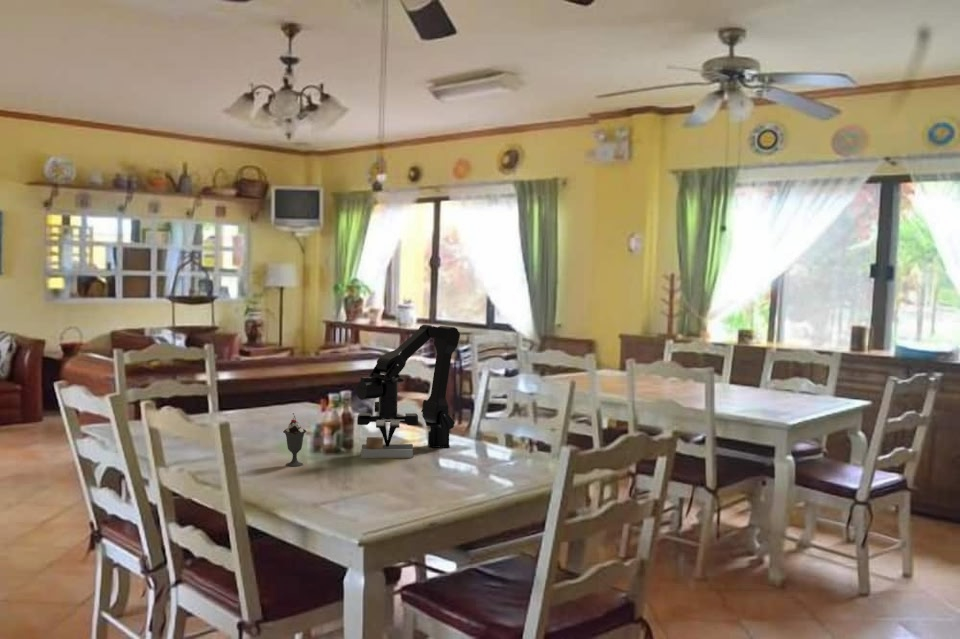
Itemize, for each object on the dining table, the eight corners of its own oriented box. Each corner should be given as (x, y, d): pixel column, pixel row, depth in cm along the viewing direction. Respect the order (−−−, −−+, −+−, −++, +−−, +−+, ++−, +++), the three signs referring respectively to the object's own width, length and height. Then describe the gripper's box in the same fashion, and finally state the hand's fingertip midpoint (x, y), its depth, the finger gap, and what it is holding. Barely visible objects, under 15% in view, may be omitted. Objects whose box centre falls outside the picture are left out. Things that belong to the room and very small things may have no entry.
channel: (412, 451, 270) (412, 444, 270) (413, 457, 262) (413, 449, 261) (361, 451, 268) (362, 443, 268) (360, 457, 260) (360, 449, 260)
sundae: (293, 460, 254) (294, 411, 253) (310, 464, 250) (311, 413, 249) (278, 465, 248) (278, 414, 247) (295, 468, 245) (295, 417, 244)
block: (382, 452, 267) (382, 437, 267) (382, 456, 262) (382, 440, 262) (366, 452, 267) (366, 437, 266) (366, 456, 262) (366, 440, 261)
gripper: (417, 393, 273) (416, 441, 274) (359, 392, 271) (358, 441, 272) (418, 398, 262) (417, 448, 263) (357, 398, 260) (356, 448, 261)
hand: (387, 446), depth 265 cm, fingers closed
